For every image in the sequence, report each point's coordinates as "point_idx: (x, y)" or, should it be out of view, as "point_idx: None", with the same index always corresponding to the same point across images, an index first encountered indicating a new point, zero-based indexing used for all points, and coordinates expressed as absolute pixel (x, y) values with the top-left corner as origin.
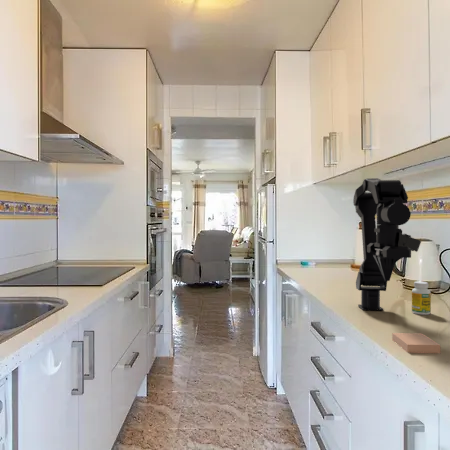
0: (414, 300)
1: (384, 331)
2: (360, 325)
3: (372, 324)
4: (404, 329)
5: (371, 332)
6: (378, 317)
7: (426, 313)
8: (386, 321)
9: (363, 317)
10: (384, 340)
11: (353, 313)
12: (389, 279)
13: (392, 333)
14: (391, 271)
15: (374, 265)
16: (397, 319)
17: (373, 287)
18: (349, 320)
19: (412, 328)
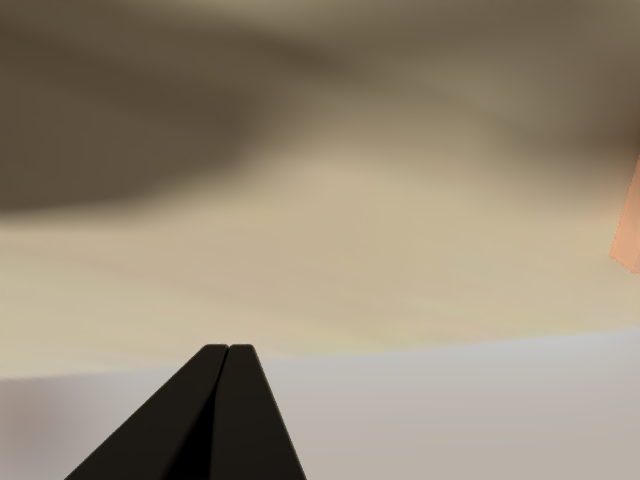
0: None
1: (451, 242)
2: (326, 326)
3: (299, 261)
4: (414, 106)
5: (464, 310)
6: (97, 169)
7: None
8: (209, 152)
9: (123, 265)
10: (605, 291)
11: (20, 296)
12: (255, 358)
13: (632, 271)
14: (299, 469)
15: None
16: (129, 44)
17: None
18: None
19: (390, 36)
